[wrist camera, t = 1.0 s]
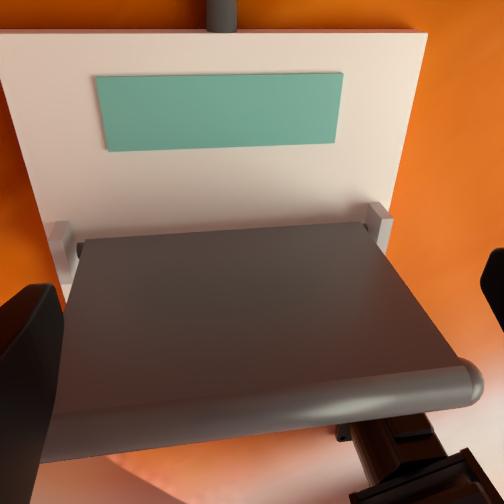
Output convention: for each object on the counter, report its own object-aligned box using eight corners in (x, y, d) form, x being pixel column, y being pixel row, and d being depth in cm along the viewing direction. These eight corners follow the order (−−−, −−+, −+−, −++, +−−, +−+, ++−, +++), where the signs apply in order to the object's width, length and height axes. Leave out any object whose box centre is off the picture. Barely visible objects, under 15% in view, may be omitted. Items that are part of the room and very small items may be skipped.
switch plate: (352, 329, 29) (369, 362, 27) (88, 355, 27) (81, 394, 24) (479, -287, 14) (543, -336, 11) (-109, -352, 11) (-181, -432, 9)
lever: (364, 239, 23) (485, 414, 14) (77, 260, 21) (10, 479, 12) (370, 213, 22) (502, 382, 13) (69, 232, 20) (-8, 446, 11)
